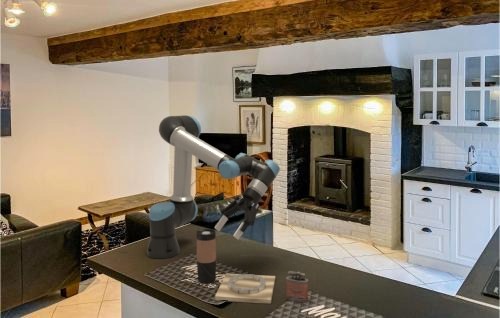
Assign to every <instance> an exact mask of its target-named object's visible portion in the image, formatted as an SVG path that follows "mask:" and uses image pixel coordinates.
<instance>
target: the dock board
mask: <svg viewBox="0 0 500 318" xmlns="http://www.w3.org/2000/svg"><path fill="white" fill-rule="evenodd" d="M236 275H242V273H225V275H224V277H223V279H222V281H221V283H220V284H219V288H218V289H217V292H216V293H215V295H214V301H219V300H228V301H227V302H234V303H235V302H237V303H238V302H239V303H250V304H251V303H254V304H265V305H266V304H269V305H270V304H272V299H273V294H274V289H275V282H276V276H275V275H259V274H256V275H257V276H260V277H262V278H263V279H264V280H265V281H266V286H265V289H264V290H262V291H260V292H258V293H254V294H238V293H235V292H232V291H231V290H230V289H229V288H228V281H229V279H230V278H232V277H234V276H236ZM233 285H234V286H236V287H239V288H248V289H249V288H254V287H257V286H259V285H261V284H260V283H259V282H258V281H255V280H248V279H244V280H238V281H236V282H234V283H233Z"/></svg>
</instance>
